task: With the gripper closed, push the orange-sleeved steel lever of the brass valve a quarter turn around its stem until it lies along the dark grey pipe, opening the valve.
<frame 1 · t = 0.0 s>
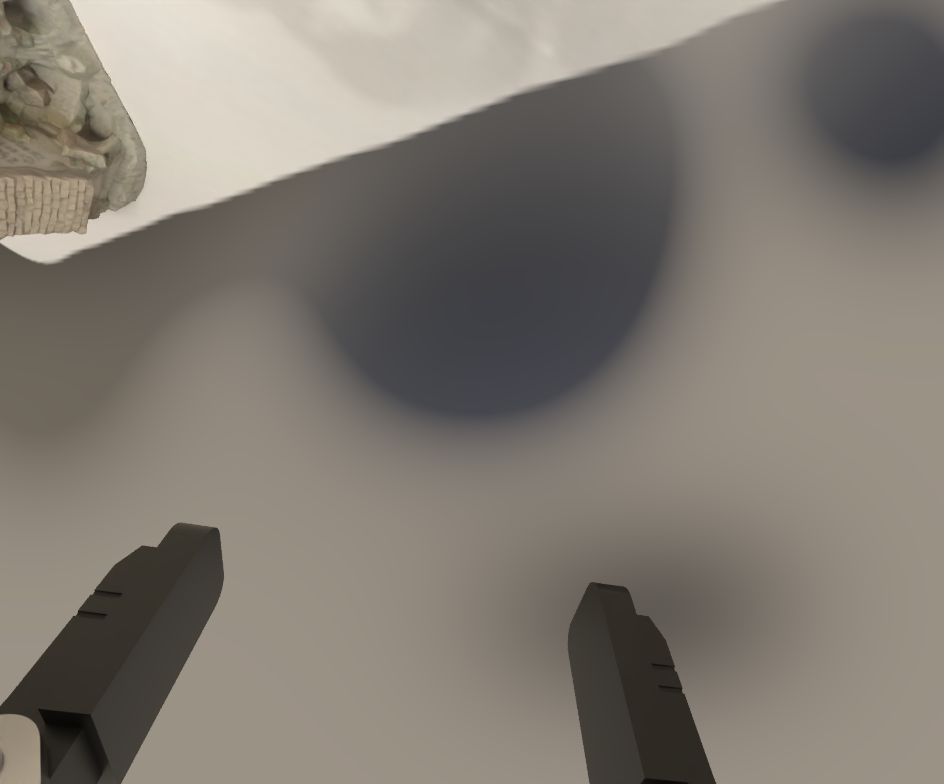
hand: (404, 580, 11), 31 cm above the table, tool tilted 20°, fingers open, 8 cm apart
ceramic cottage: (37, 79, 33), on the table
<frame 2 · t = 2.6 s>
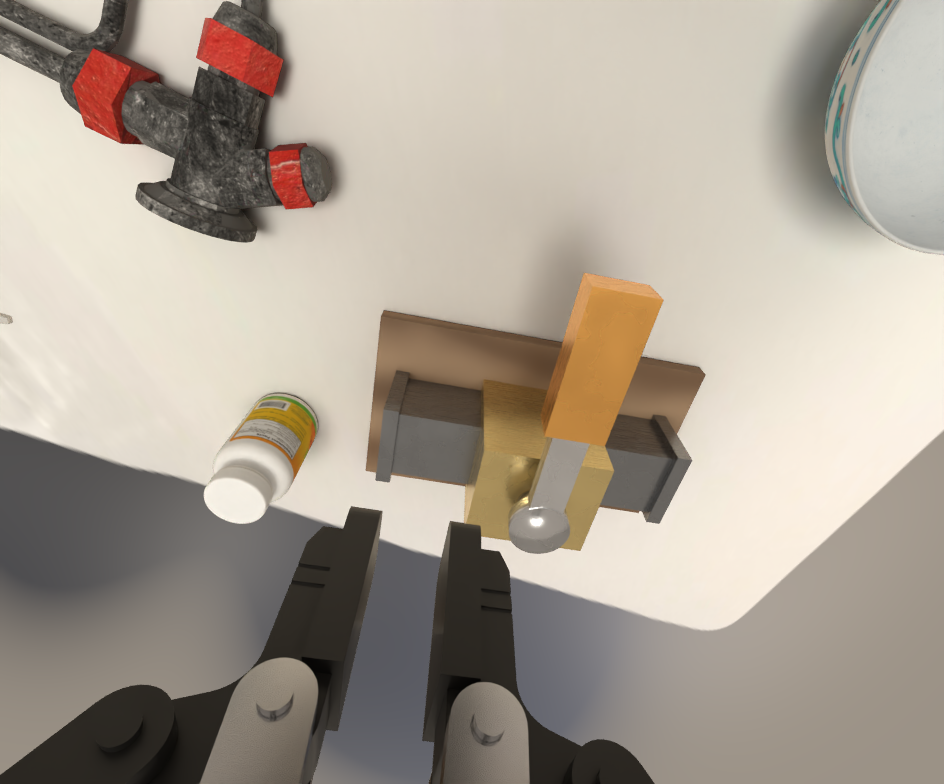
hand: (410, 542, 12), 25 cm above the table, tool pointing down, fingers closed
valve and pipe: (523, 417, 40), resting on walnut board
supplement bottle: (287, 418, 40), on the table
valve lever: (569, 436, 26), point 12 cm above the table, hinge at 0.0°
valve: (137, 41, 28), on the table
walnut board: (523, 417, 40), on the table
chinaware: (899, 89, 28), on the table
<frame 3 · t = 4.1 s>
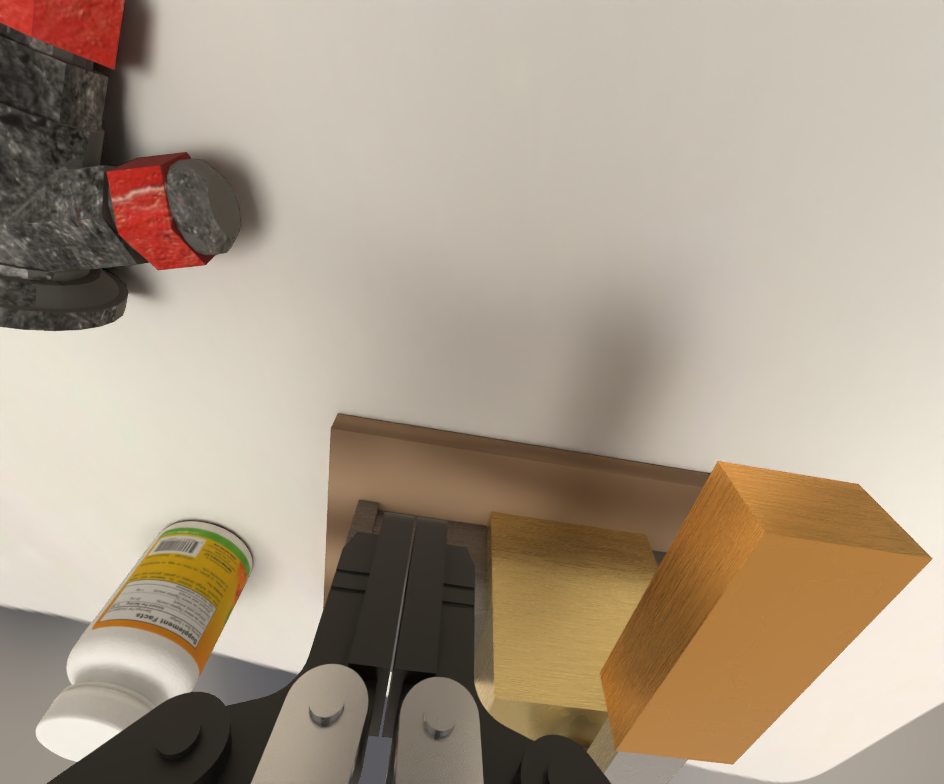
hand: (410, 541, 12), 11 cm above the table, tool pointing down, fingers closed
valve and pipe: (548, 551, 27), resting on walnut board
supplement bottle: (208, 549, 28), on the table
valve lever: (657, 723, 14), point 12 cm above the table, hinge at 0.0°
walnut board: (548, 551, 27), on the table
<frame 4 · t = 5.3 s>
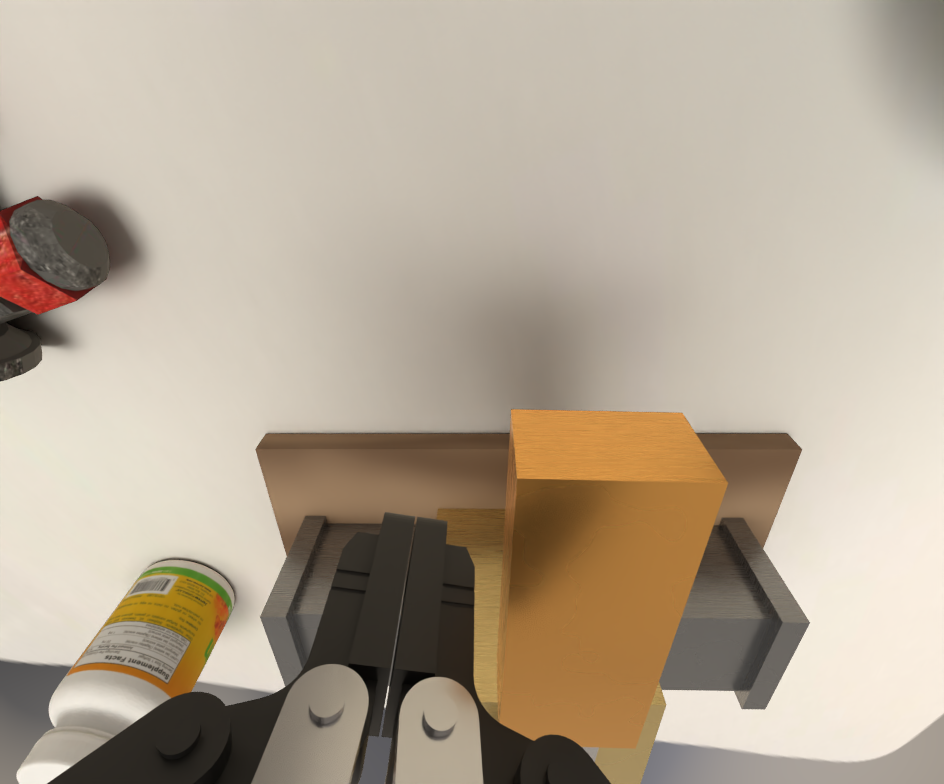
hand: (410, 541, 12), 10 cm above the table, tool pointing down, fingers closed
valve and pipe: (518, 542, 26), resting on walnut board
supplement bottle: (192, 585, 29), on the table
valve lever: (559, 710, 12), point 12 cm above the table, hinge at 1.5°, touching gripper
walnut board: (518, 542, 26), on the table
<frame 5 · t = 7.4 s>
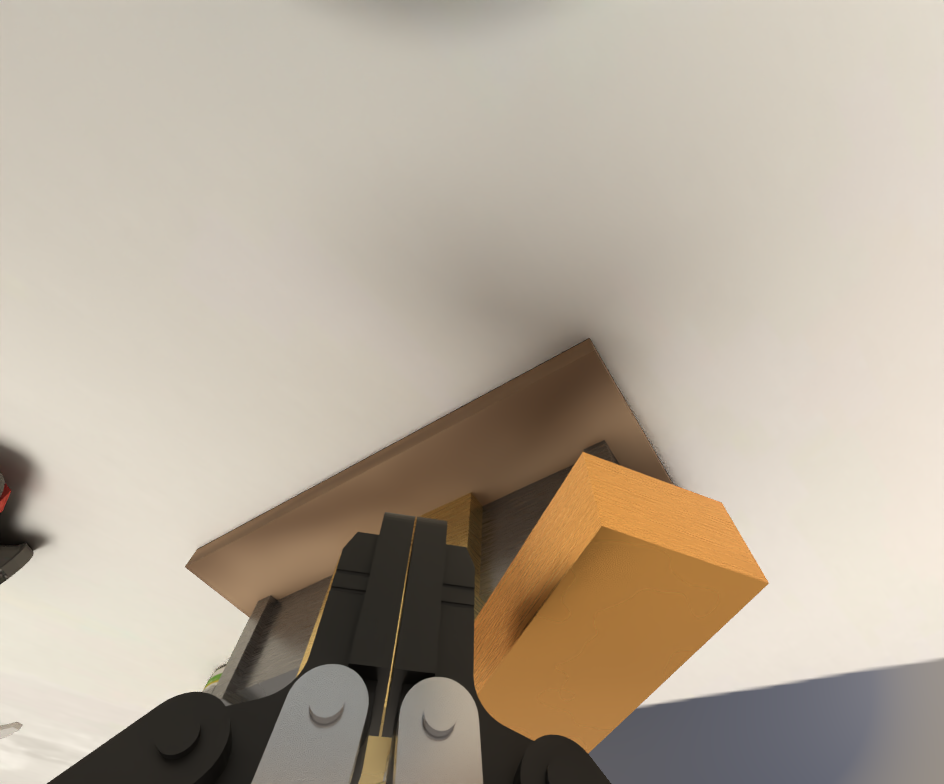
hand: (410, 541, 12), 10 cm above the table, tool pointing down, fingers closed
valve and pipe: (445, 549, 26), resting on walnut board
valve lever: (490, 731, 13), point 12 cm above the table, hinge at 54.9°, touching gripper
walnut board: (445, 549, 26), on the table
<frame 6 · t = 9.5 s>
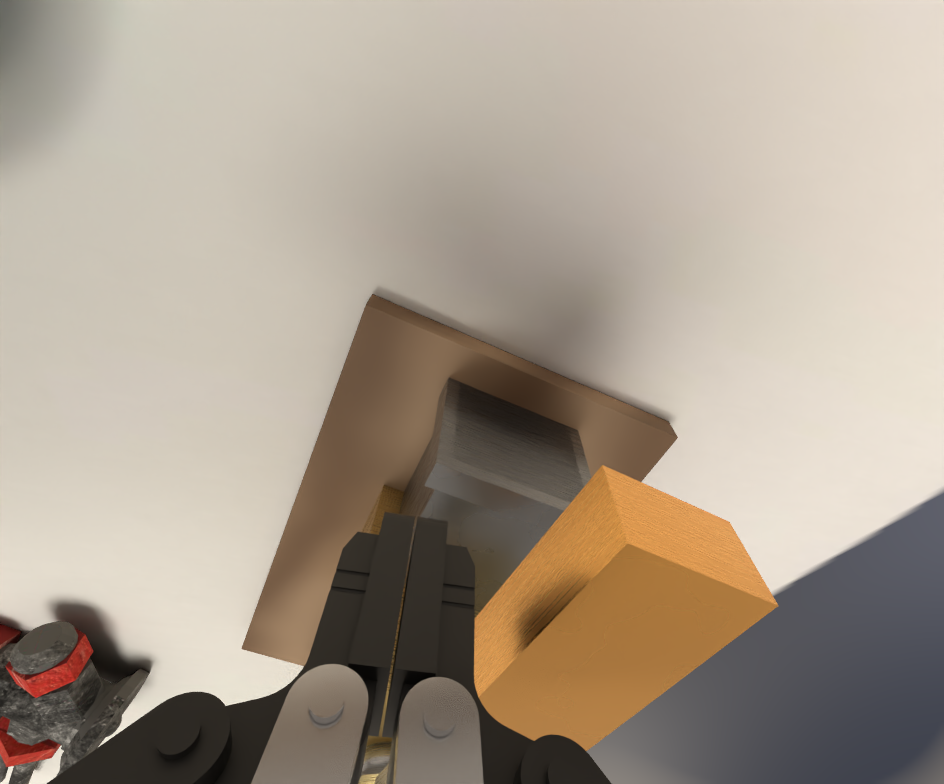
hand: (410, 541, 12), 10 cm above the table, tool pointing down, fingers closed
valve and pipe: (424, 543, 26), resting on walnut board
valve lever: (477, 731, 13), point 12 cm above the table, hinge at 92.6°
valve: (22, 679, 35), on the table
walnut board: (424, 543, 26), on the table
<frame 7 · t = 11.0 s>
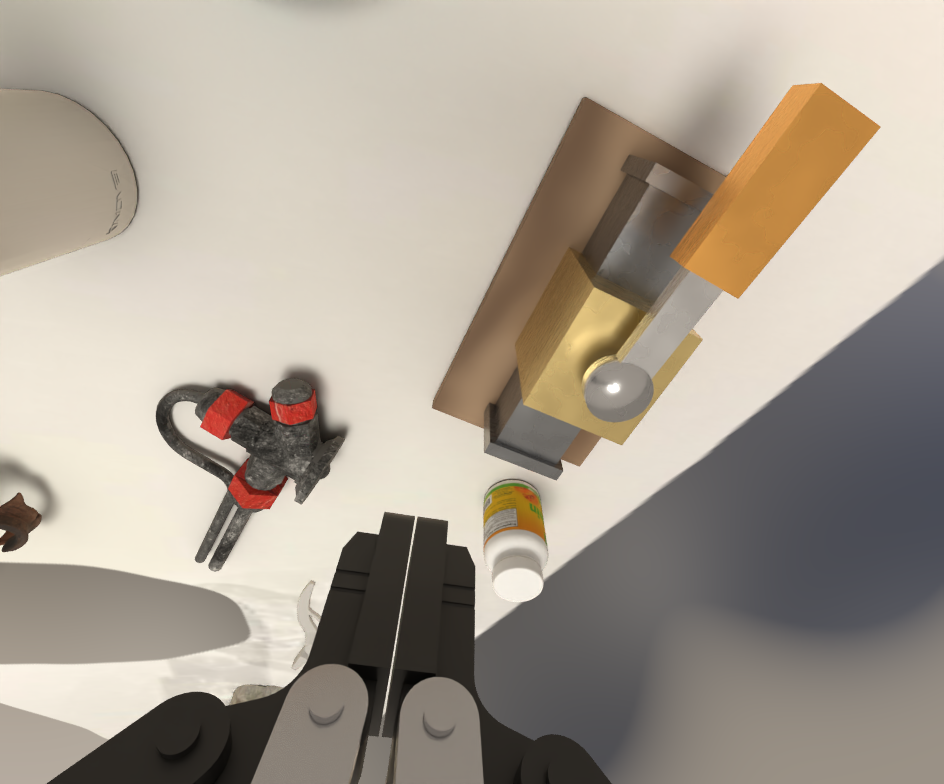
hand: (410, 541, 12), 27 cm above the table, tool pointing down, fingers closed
valve and pipe: (579, 311, 37), resting on walnut board
supplement bottle: (511, 498, 47), on the table
ceramic cottage: (290, 716, 67), on the table
valve lever: (697, 284, 24), point 12 cm above the table, hinge at 92.6°
pliers: (329, 627, 58), on the table
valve: (237, 459, 45), on the table
walnut board: (579, 311, 37), on the table
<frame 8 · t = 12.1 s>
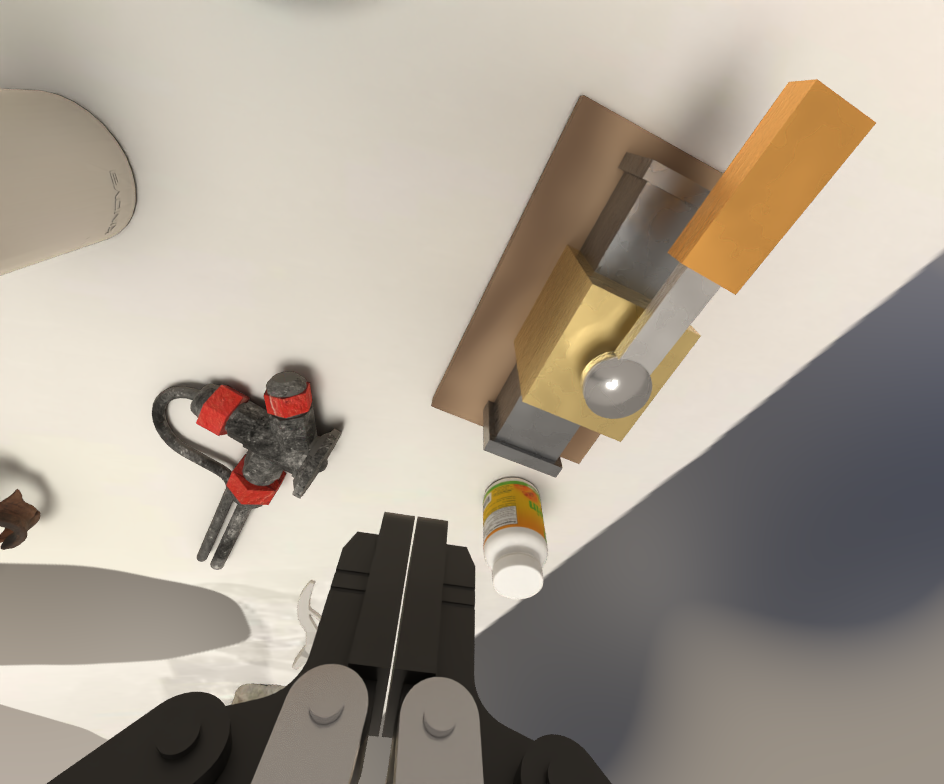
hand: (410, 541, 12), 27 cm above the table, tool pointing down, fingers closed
valve and pipe: (578, 309, 37), resting on walnut board
supplement bottle: (511, 496, 47), on the table
ceramic cottage: (292, 715, 67), on the table
valve lever: (695, 280, 24), point 12 cm above the table, hinge at 92.6°
pliers: (329, 626, 58), on the table
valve: (235, 456, 45), on the table
walnut board: (578, 309, 37), on the table
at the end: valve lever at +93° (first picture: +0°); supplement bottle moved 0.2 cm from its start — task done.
